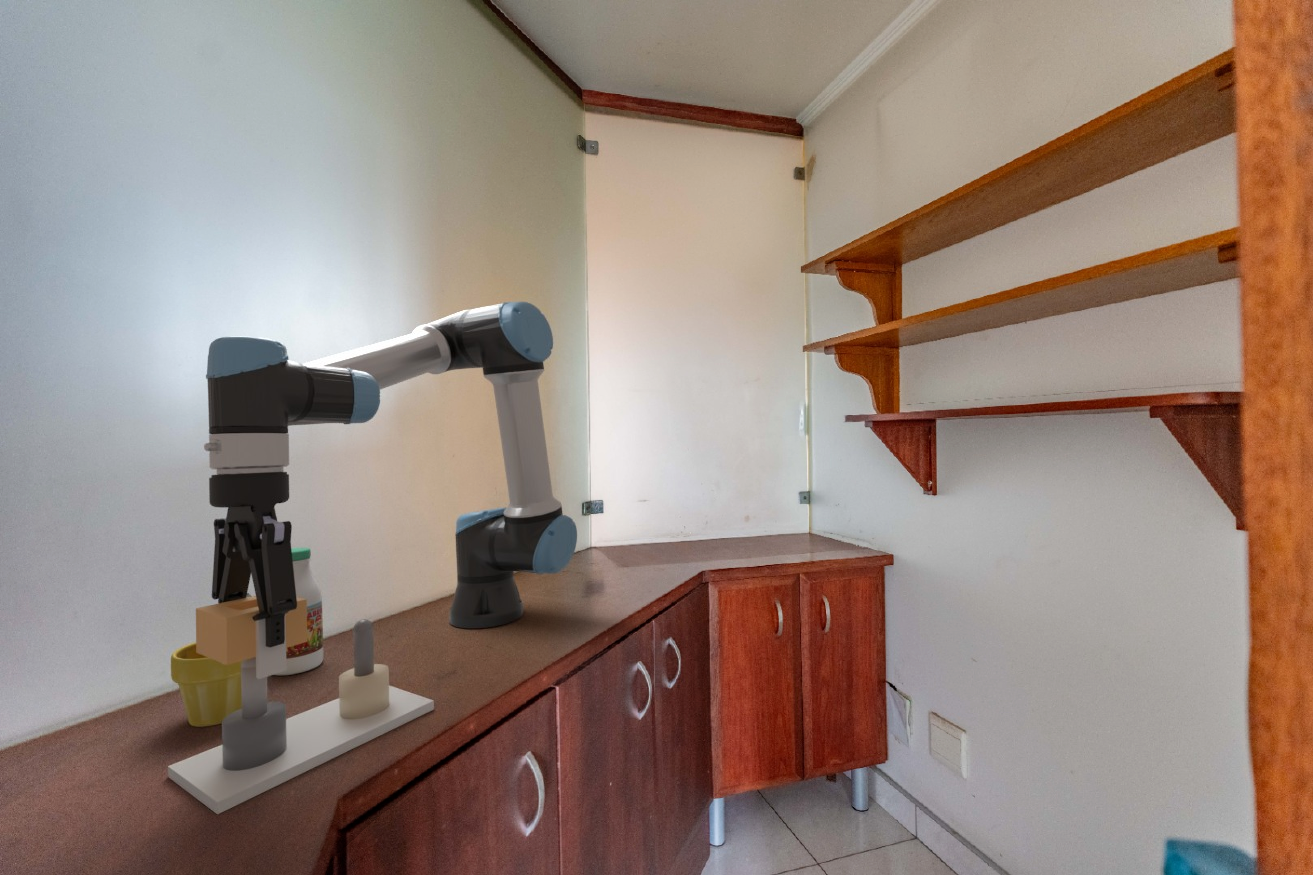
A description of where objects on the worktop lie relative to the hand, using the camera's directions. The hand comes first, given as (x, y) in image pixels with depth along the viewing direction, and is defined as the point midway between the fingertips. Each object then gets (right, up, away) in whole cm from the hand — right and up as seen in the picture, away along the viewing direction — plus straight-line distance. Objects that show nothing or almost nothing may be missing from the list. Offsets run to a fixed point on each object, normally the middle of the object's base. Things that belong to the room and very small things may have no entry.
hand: (253, 666), depth 64 cm
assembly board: (+4, -11, +5) cm, 13 cm away
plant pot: (-14, -12, +13) cm, 23 cm away
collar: (0, +2, 0) cm, 2 cm away
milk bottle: (-14, -13, +29) cm, 35 cm away
